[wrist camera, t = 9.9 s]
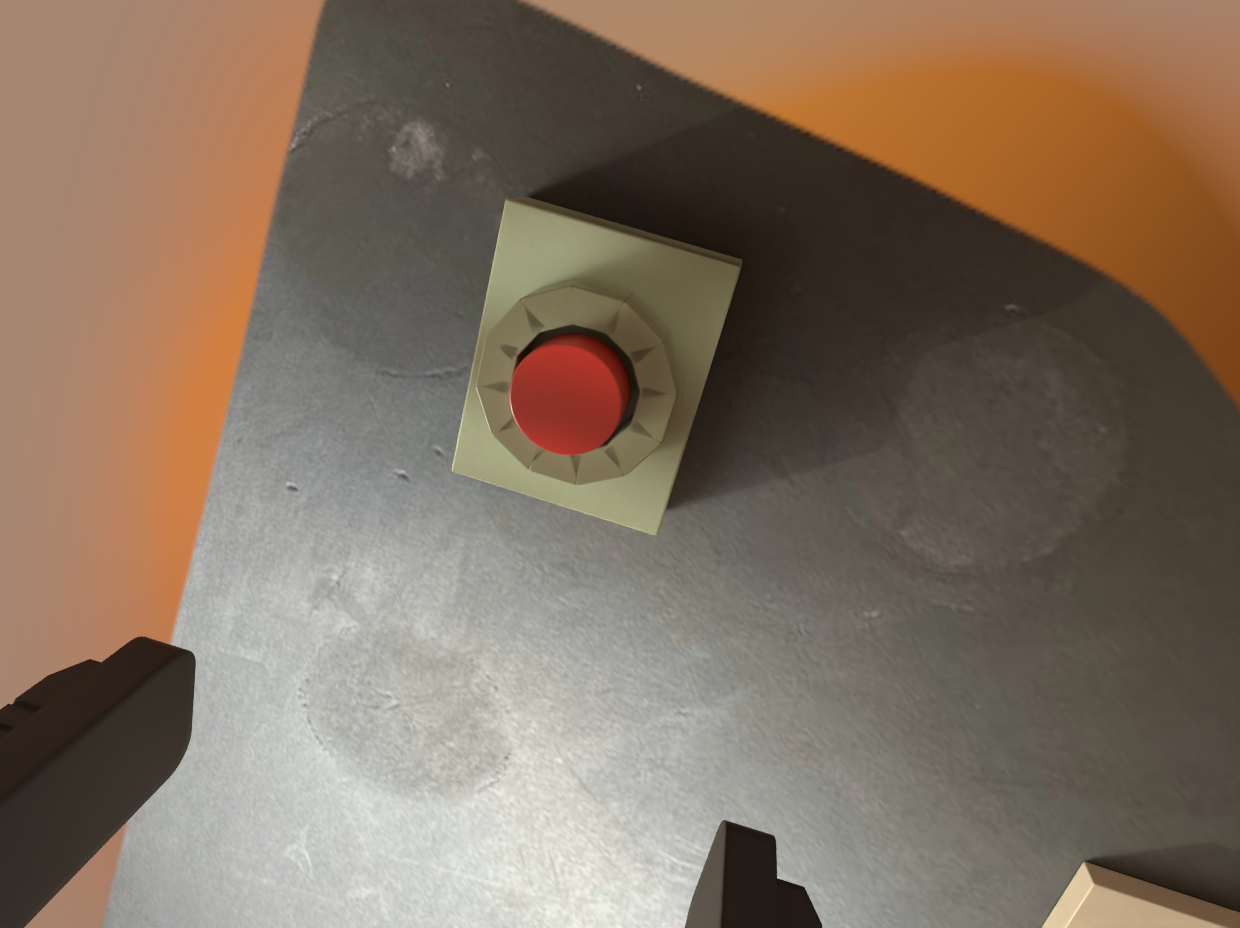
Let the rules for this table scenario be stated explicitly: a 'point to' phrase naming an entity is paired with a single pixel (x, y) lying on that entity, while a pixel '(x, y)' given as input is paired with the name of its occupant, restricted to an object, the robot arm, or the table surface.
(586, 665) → the table surface
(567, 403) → the power button
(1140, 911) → the wooden stand
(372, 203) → the table surface
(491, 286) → the button block
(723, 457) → the table surface
